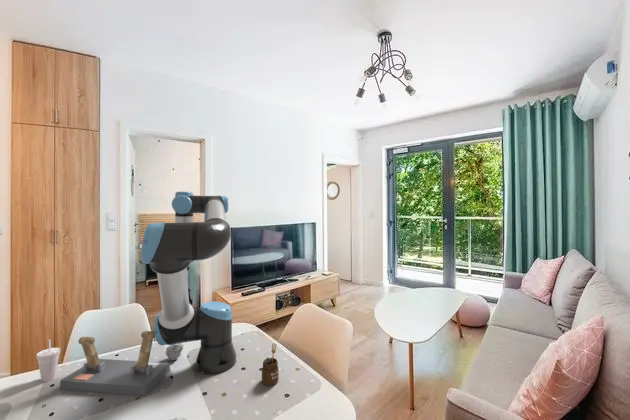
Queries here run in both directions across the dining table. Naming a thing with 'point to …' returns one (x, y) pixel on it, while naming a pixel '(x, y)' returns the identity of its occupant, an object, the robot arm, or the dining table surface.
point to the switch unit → (116, 377)
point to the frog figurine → (174, 351)
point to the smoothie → (48, 363)
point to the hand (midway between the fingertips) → (184, 277)
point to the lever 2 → (144, 351)
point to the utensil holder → (270, 369)
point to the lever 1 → (90, 352)
